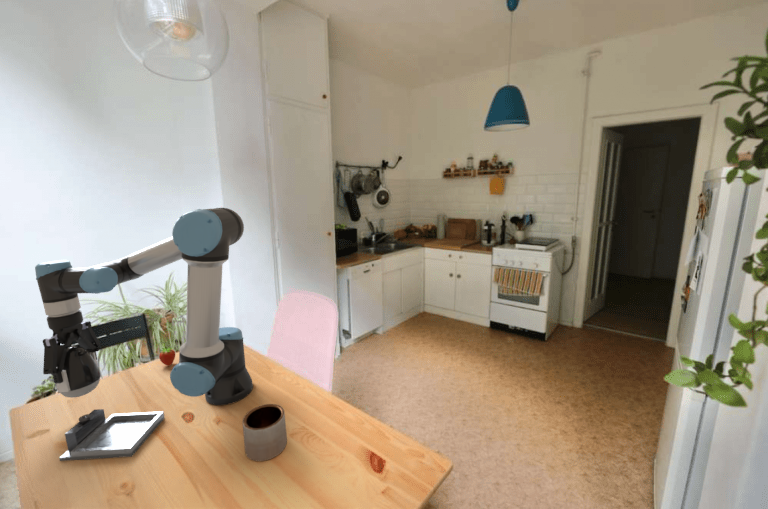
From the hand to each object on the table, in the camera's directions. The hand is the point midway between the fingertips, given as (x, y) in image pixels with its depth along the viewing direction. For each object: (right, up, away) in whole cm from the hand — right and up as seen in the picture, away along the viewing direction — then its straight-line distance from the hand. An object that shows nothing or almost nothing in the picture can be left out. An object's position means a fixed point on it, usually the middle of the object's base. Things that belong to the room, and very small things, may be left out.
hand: (79, 380), depth 102 cm
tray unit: (+17, -14, -7) cm, 23 cm away
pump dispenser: (0, -4, +1) cm, 4 cm away
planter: (+62, -14, -11) cm, 64 cm away
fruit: (+6, -6, +32) cm, 34 cm away
